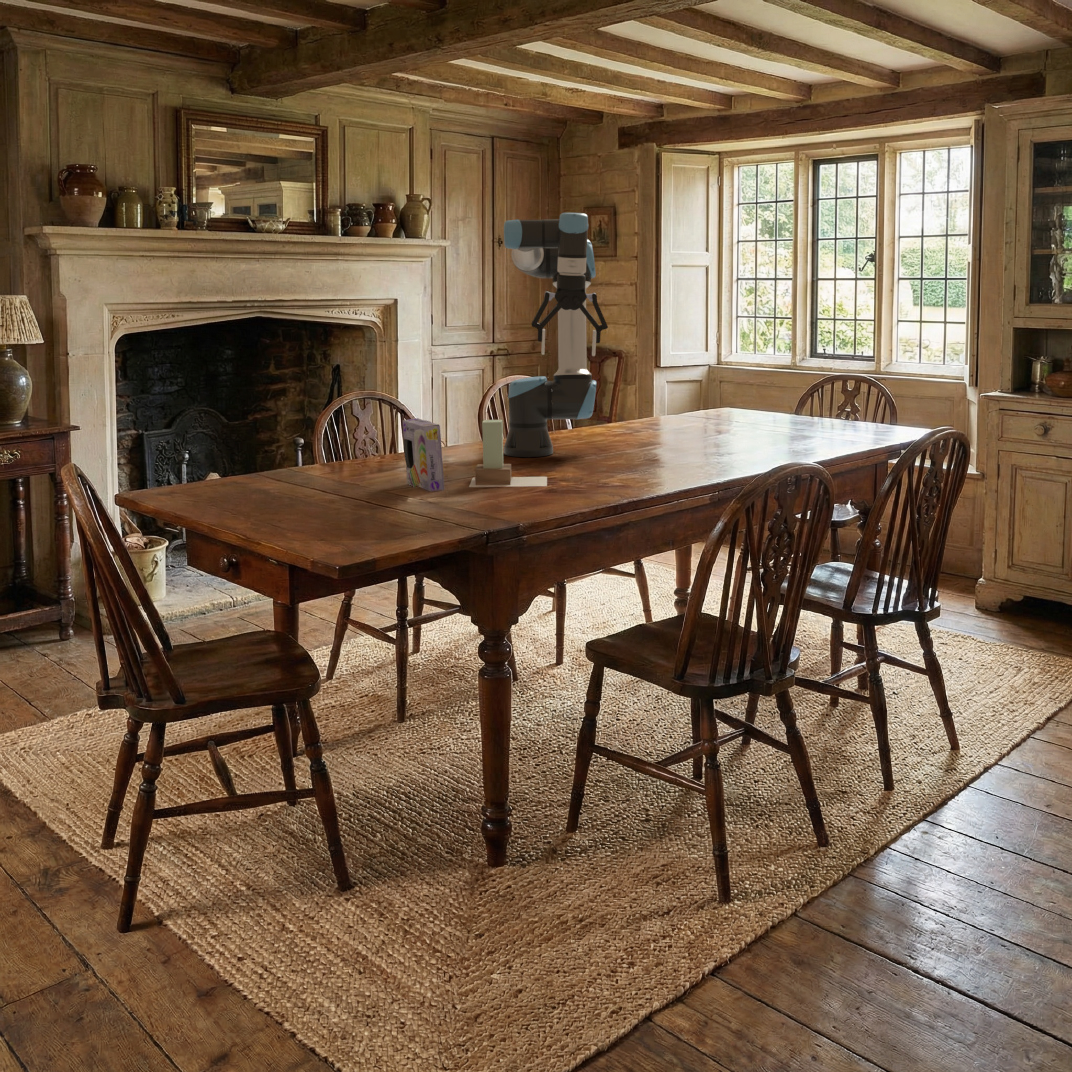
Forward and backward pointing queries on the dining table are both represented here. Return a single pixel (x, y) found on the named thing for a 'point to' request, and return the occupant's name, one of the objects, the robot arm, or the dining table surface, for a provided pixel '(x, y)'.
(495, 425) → the pillar
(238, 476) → the dining table surface
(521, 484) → the build board
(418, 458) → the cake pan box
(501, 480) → the base block
